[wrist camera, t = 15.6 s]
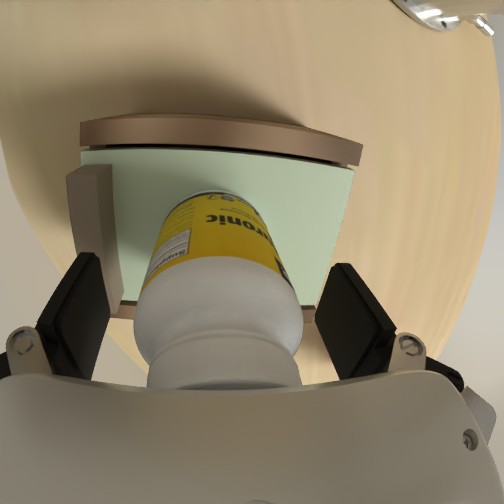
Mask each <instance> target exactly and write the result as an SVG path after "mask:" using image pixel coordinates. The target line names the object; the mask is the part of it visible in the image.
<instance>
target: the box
mask: <svg viewBox="0 0 504 504" xmlns="http://www.w3.org/2000/svg"><path fill="white" fill-rule="evenodd" d="M89 145H90V149H96V148H118V147H177V148H201V149H217V150H229V151H241V152H251V153H260V154H268V155H276V156H284V157H291V158H298V159H304V160H310V161H316V162H322V163H328V164H333V165H338V166H344V167H347V165H348V164H350V165H354V166H359V162H360V157H361V153H362V148H363V145H362V144H360V143H357V142H354V141H351V140H348V139H344V138H341V137H338V136H335V135H332V134H328V133H325V132H321V131H318V130H314V129H311V128H307V127H301V126H296V125H290V124H284V123H278V122H271V121H264V120H257V119H248V118H239V117H229V116H217V115H202V114H175V113H146V114H127V115H119V116H113V117H106V118H100V119H95V120H89V121H84V122H80V146H89ZM137 302H138V301H129V300H121V302H120V305H119V308H118V311H117V314H113V313H110V318H121V319H132V320H134V316H135V311H136V305H137ZM300 306H301V310H302V314H303V323H311V322H312V320H313V317H314V314H315V311H316V308H315V306H314V305H300Z"/></svg>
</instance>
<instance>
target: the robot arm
mask: <svg viewBox="0 0 504 504" xmlns="http://www.w3.org/2000/svg"><path fill="white" fill-rule="evenodd" d="M393 1H394V2H395V3H396V4H397V5H398V6H399V7H400V8H401V9H402V10H403V11H404V12H405V13H406V14H408V15H409V16H410V17H411V18H413V19H414V20H415V21H417V22H418V23H420V24H422V25H423V26H425V27H427V28H429V29H432V30H435V31H451V30H454V29H456V28H457V27H458V26H459V25H460V23H461V20H466V21H468V22H469V23H473V24H475V26H476V27H477V28H478V29H479V30H480V31H481V32H482V33H483V34H484V35H486V36H491V35H492V34H493V27H492V26H491V25H490V24H489V23H488V22H487V21H486V20H485V19H484V18H483V17H481V16H480V15H485V14H504V0H393ZM110 313H111V311H110V305H109V301H108V297H107V293H106V288H105V284H104V279H103V274H102V269H101V263H100V258H99V257H98V256H96V255H95V253H94V252H80V253H79V255H78V256H77V258H76V259H75V261H74V262H73V263H72V265H71V266H70V268H69V269H68V271H67V272H66V274H65V275H64V277H63V279H62V280H61V282H60V284H59V285H58V287H57V288H56V290H55V291H54V293H53V295H52V296H51V298H50V300H49V301H48V303H47V305H46V306H45V308H44V310H43V312H42V314H41V316H40V317H39V319H38V321H37V325H36V327H35V328H32V327H29V326H23V327H20V328H18V329H16V330H14V331H13V332H12V333H11V334H10V335H9V337H8V339H7V342H6V352H4V353H2V354H0V504H504V489H503V486H502V483H501V480H500V477H499V474H498V471H497V468H496V465H495V462H494V459H493V457H492V454H491V452H490V450H489V447H488V442H489V439H490V437H491V433H492V431H493V428H494V425H495V422H496V413H495V411H494V408H493V407H492V406H491V405H490V404H489V403H487V402H486V401H485V400H484V399H483V398H481V397H480V396H479V395H478V394H476V393H475V392H474V391H473V390H472V389H470V388H469V387H468V386H466V387H465V388H464V381H463V378H462V377H461V375H460V374H459V372H457V371H456V370H454V369H452V368H450V367H448V366H446V365H444V364H442V363H440V362H438V361H436V360H434V359H432V358H429V357H427V356H426V347H425V345H424V343H423V342H422V341H421V340H420V339H419V338H418V337H417V336H415V335H413V334H411V333H405V332H403V333H399V334H398V335H397V336H396V334H395V333H394V332H395V331H396V329H397V328H396V326H395V325H394V323H393V322H392V320H391V319H390V318H389V316H388V315H387V313H386V312H385V310H384V309H383V307H382V306H381V305H380V303H379V302H378V300H377V299H376V298H375V296H374V295H373V293H372V292H371V291H370V289H369V288H368V287H367V285H366V284H365V283H364V281H363V280H362V278H361V277H360V276H359V274H358V273H357V272H356V270H355V269H354V268H353V267H352V265H351V264H350V263H336V264H335V266H332V267H331V269H330V272H329V275H328V278H327V281H326V284H325V287H324V290H323V293H322V296H321V299H320V302H319V304H318V307H317V310H316V313H315V323H316V325H317V327H318V330H319V332H320V334H321V337H322V339H323V341H324V344H325V346H326V348H327V351H328V353H329V355H330V358H331V360H332V362H333V365H334V367H335V369H336V372H337V374H338V377H339V379H340V380H339V381H333V382H326V383H319V384H311V385H303V386H293V387H282V388H270V389H253V390H176V389H159V388H147V387H136V386H128V385H119V384H112V383H104V382H97V381H91V378H92V374H93V370H94V366H95V363H96V360H97V356H98V353H99V349H100V346H101V343H102V340H103V337H104V334H105V331H106V328H107V325H108V322H109V319H110Z"/></svg>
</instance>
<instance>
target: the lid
mask: <svg viewBox="0 0 504 504" xmlns="http://www.w3.org/2000/svg"><path fill="white" fill-rule="evenodd" d="M80 155H81V167H80V168H78V169H76V170H75V171H73V172H71V173H70V174H68V175H66V184H67V195H68V204H69V212H70V219H71V226H72V232H73V238H74V243H75V248H76V253H77V256H78V255H79V253H80V252H94V253H95V255H96V256H98V257H99V258H100V263H101V269H102V274H103V279H104V284H105V288H106V293H107V297H108V301H109V305H110V311H111V313H113V314H117V311H118V308H119V305H120V302H121V300H129V301H138V298H139V295H140V291H141V288H142V285H143V282H144V278H145V275H146V272H147V269H148V266H149V263H150V259H151V256H152V254H153V251H154V247H155V245H156V242H157V239H158V236H159V233H160V230H161V228H162V225H163V223H164V221H165V219H166V217H167V216H168V214H169V213H170V211H171V210H172V209H173V207H174V206H175V205H176V204H178V203H179V202H180V201H181V200H183V199H184V198H186V197H188V196H190V195H192V194H194V193H197V192H201V191H205V190H223V191H228V192H231V193H234V194H237V195H239V196H241V197H243V198H244V199H246V200H247V201H248V202H250V203H251V204H252V205H253V206H254V207H255V208H256V210H257V211H258V212H259V214H260V216H261V217H262V219H263V221H264V223H265V225H266V226H267V229H268V232H269V234H270V236H271V238H272V241H273V243H274V245H275V248H276V250H277V252H278V255H279V257H280V259H281V261H282V264H283V266H284V268H285V270H286V273H287V275H288V277H289V279H290V282H291V284H292V286H293V288H294V290H295V293H296V296H297V299H298V301H299V304H300V305H316V303H317V300H318V297H319V294H320V291H321V289H322V286H323V283H324V280H325V276H326V273H327V270H328V267H329V264H330V261H331V258H332V254H333V251H334V248H335V244H336V241H337V238H338V234H339V231H340V227H341V224H342V220H343V216H344V213H345V209H346V205H347V201H348V197H349V194H350V190H351V186H352V181H353V177H354V173H355V171H354V170H353V169H351V168H348V167H344V166H338V165H333V164H328V163H322V162H316V161H310V160H304V159H298V158H291V157H284V156H276V155H268V154H260V153H251V152H241V151H229V150H217V149H201V148H177V147H118V148H96V149H85V150H83V151H81V152H80Z"/></svg>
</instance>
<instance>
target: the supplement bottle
mask: <svg viewBox="0 0 504 504" xmlns="http://www.w3.org/2000/svg"><path fill="white" fill-rule="evenodd" d="M303 327H304V323H303V314H302V310H301V306H300V304H299V301H298V299H297V296H296V293H295V290H294V288H293V286H292V284H291V282H290V279H289V277H288V275H287V273H286V270H285V268H284V266H283V264H282V261H281V259H280V257H279V255H278V252H277V250H276V248H275V245H274V243H273V241H272V238H271V236H270V234H269V232H268V229H267V226H266V225H265V223H264V221H263V219H262V217H261V216H260V214H259V212H258V211H257V210H256V208H255V207H254V206H253V205H252V204H251V203H250V202H248V201H247V200H246V199H244V198H243V197H241V196H239V195H237V194H234V193H231V192H228V191H223V190H205V191H201V192H197V193H194V194H192V195H190V196H188V197H186V198H184V199H183V200H181V201H180V202H179V203H178V204H176V205H175V206H174V207H173V209H172V210H171V211H170V213H169V214H168V216H167V217H166V219H165V221H164V223H163V225H162V228H161V230H160V233H159V236H158V239H157V242H156V245H155V247H154V251H153V254H152V256H151V259H150V263H149V266H148V269H147V272H146V275H145V278H144V282H143V285H142V288H141V291H140V295H139V298H138V302H137V305H136V311H135V316H134V336H135V340H136V344H137V347H138V349H139V351H140V353H141V355H142V356H143V358H144V360H145V361H146V362H147V363H148V364H149V366H150V367H149V372H148V378H147V388H159V389H176V390H253V389H270V388H282V387H293V386H303V385H302V382H301V378H300V375H299V370H298V366H297V364H296V362H295V361H294V359H293V356H294V355H295V353H296V351H297V350H298V347H299V345H300V342H301V339H302V335H303Z"/></svg>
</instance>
